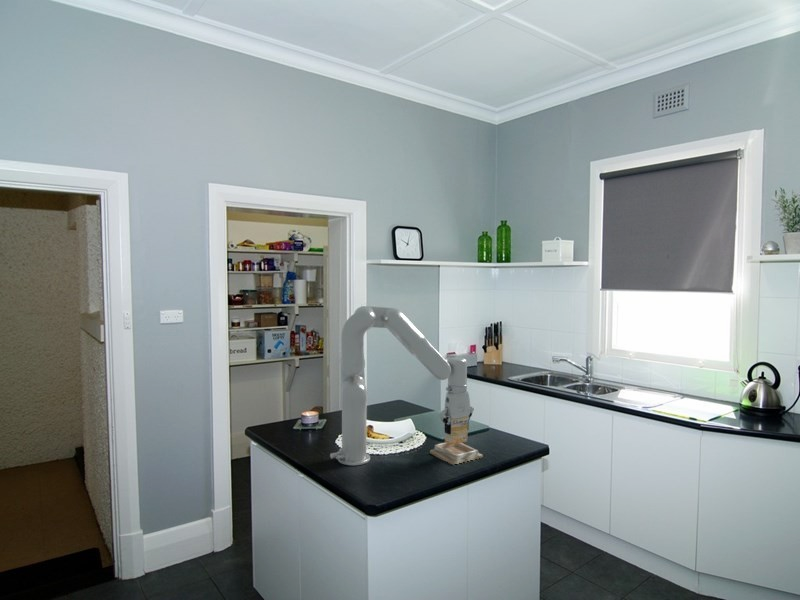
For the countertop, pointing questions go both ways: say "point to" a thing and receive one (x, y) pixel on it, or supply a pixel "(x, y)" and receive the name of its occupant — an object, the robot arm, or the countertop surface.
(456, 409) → the robot arm
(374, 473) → the countertop surface
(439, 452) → the board
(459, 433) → the supplement box
